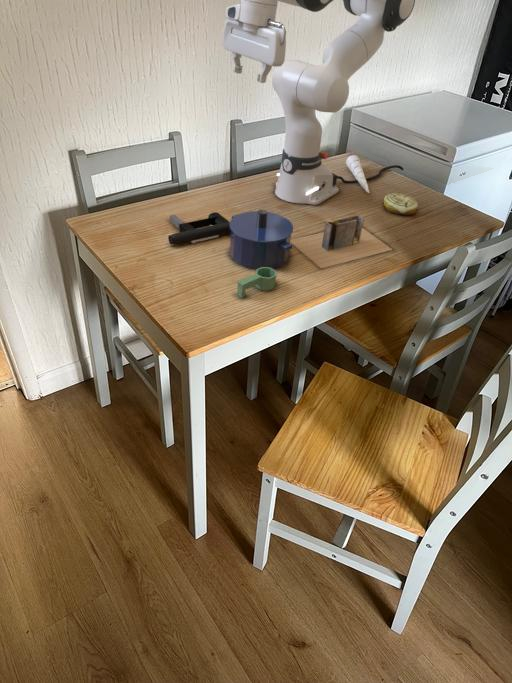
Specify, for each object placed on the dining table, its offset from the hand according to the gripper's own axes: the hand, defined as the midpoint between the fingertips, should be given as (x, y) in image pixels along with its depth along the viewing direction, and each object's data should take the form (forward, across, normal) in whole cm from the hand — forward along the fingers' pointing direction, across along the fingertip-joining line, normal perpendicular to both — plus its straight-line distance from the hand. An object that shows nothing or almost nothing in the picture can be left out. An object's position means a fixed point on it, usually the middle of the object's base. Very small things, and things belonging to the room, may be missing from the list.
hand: (249, 77), depth 139 cm
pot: (+40, -21, +7) cm, 45 cm away
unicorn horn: (+33, -3, -57) cm, 66 cm away
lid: (+32, -21, +8) cm, 38 cm away
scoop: (+41, -33, +19) cm, 56 cm away
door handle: (+41, 0, +13) cm, 43 cm away
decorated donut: (+34, -26, -49) cm, 65 cm away
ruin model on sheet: (+37, -30, -16) cm, 50 cm away
